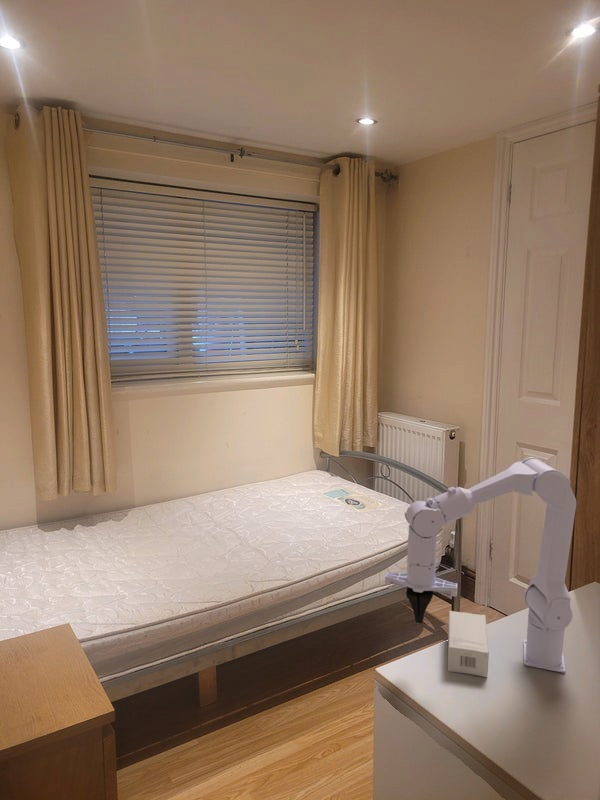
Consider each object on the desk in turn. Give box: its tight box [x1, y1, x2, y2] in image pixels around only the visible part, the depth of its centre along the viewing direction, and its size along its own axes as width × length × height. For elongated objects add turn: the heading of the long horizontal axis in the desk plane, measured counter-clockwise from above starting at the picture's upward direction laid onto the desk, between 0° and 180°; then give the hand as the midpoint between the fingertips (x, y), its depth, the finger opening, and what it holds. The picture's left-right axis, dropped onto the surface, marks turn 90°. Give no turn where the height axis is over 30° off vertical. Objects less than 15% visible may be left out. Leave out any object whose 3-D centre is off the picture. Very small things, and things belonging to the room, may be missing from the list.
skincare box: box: [447, 610, 490, 678], centre depth 127 cm, size 8×6×15 cm
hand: (419, 620), depth 121 cm, fingers closed
